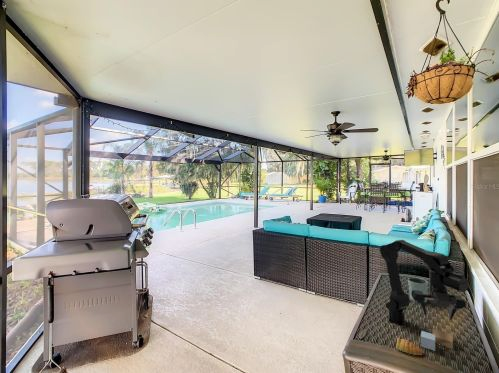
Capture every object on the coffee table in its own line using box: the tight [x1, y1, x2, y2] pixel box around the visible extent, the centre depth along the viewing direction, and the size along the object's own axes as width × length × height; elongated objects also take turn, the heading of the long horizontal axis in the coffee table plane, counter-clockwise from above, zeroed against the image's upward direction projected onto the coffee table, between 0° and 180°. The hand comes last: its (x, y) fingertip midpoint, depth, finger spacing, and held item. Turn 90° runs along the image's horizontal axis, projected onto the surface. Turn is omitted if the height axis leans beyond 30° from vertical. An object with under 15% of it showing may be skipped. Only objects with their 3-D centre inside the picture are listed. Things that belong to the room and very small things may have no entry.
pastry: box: [395, 337, 423, 356], centre depth 106 cm, size 9×7×4 cm
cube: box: [420, 330, 436, 352], centre depth 108 cm, size 5×5×5 cm
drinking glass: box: [407, 277, 429, 303], centre depth 151 cm, size 10×10×12 cm
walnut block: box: [432, 328, 454, 350], centre depth 111 cm, size 7×7×4 cm
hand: (437, 317), depth 109 cm, fingers open, 9 cm apart
